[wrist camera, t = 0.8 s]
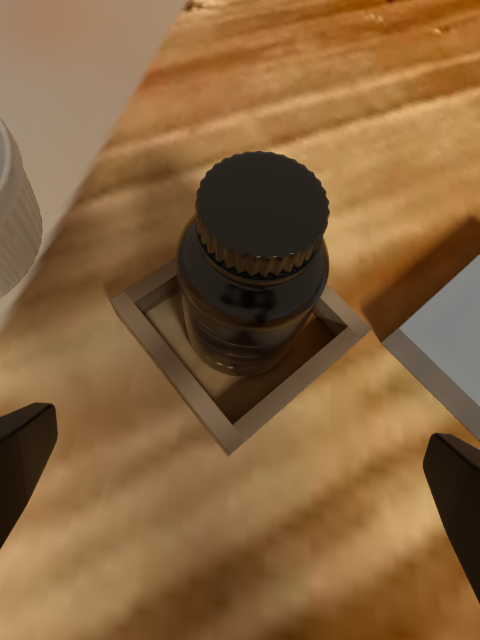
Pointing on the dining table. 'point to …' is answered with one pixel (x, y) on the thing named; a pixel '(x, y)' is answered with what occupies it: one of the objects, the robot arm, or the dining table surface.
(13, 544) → the dining table surface
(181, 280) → the supplement bottle
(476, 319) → the grey tray
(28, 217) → the ramekin
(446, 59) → the dining table surface
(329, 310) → the walnut collar
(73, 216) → the dining table surface
